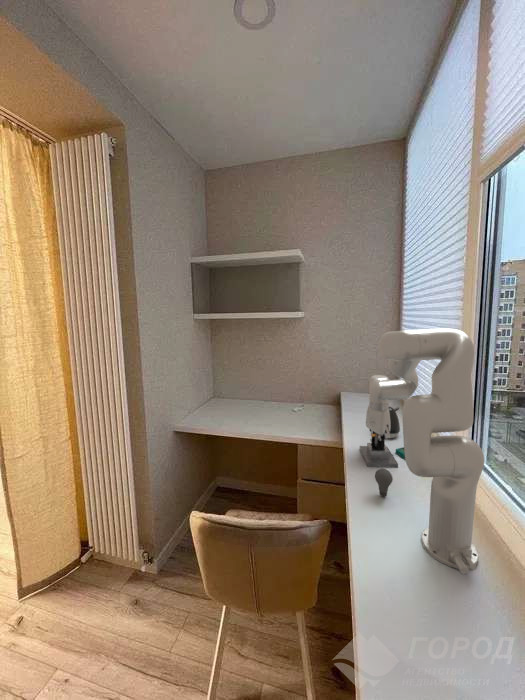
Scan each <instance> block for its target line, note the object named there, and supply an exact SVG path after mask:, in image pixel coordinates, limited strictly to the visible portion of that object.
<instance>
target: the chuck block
mask: <svg viewBox="0 0 525 700" xmlns="http://www.w3.org/2000/svg"><path fill="white" fill-rule="evenodd" d="M369 441H370V442H366V445H359V452H360V453H361V456H362V458H363V460H364V462H365V465H366V467H368V468H370V467H371V468H399V463H398V461H397V460H396V458H395V456H394V455H393V454H392V452H391V450H390V449H389V446H387V445H386V444H384V448H382V449H381V450H374V445H372V438H370V439H369Z"/></svg>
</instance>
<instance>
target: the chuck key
mask: <svg viewBox="0 0 525 700" xmlns="http://www.w3.org/2000/svg"><path fill="white" fill-rule="evenodd" d="M370 436H371V438H372V437H375V444H374V450H381V449H378V448H377V440H379V438H378V434H377V433H375V434H371V433H370ZM381 437H382V435H381Z"/></svg>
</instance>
